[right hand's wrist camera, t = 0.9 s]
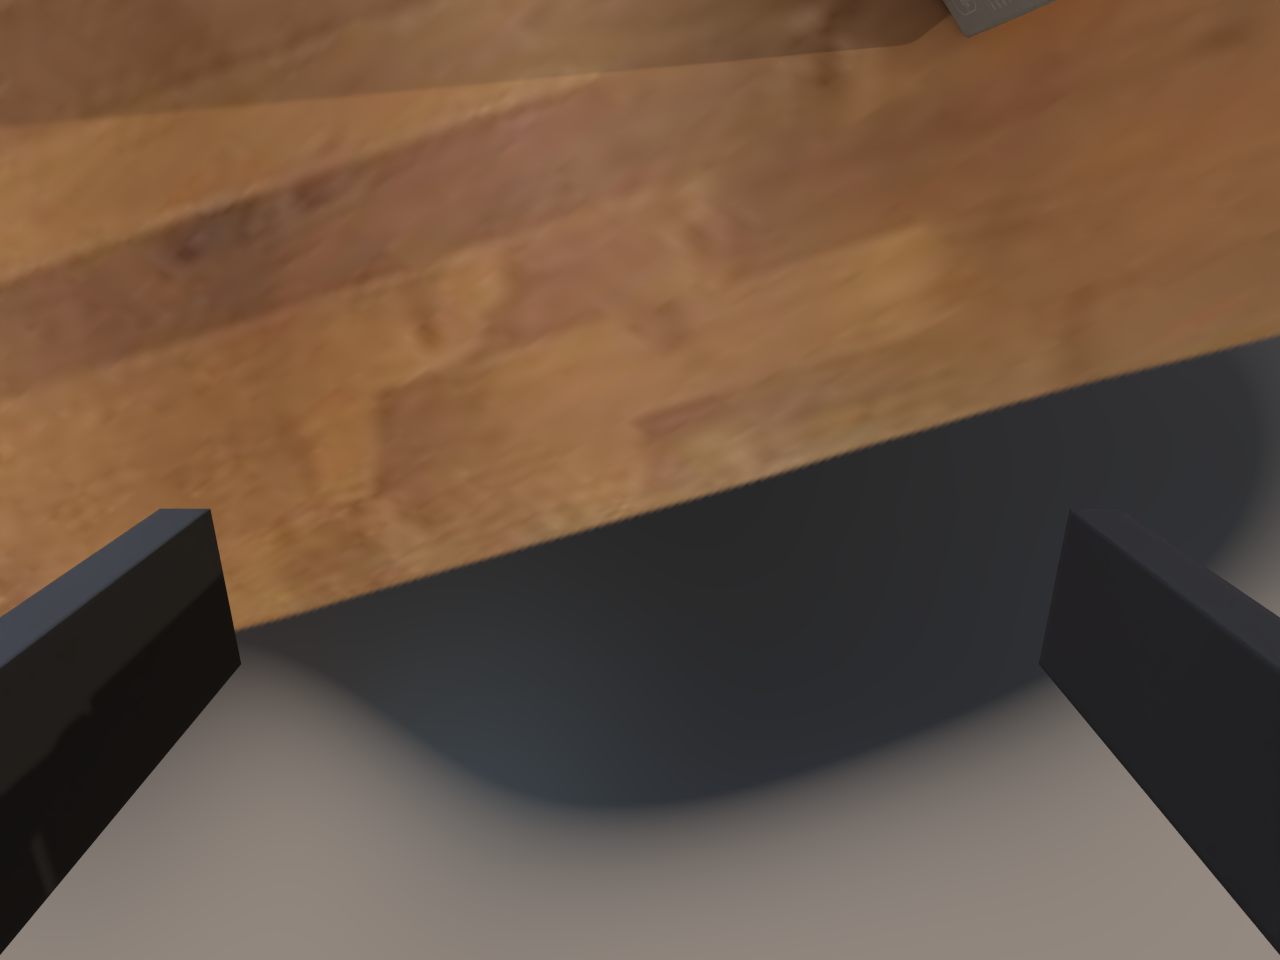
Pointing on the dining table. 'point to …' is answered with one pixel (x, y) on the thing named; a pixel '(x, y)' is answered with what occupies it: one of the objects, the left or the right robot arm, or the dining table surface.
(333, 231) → the dining table surface
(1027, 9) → the hard drive box
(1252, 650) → the right robot arm
